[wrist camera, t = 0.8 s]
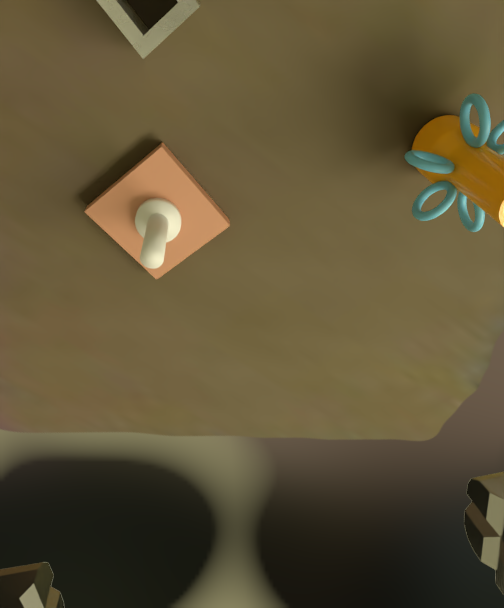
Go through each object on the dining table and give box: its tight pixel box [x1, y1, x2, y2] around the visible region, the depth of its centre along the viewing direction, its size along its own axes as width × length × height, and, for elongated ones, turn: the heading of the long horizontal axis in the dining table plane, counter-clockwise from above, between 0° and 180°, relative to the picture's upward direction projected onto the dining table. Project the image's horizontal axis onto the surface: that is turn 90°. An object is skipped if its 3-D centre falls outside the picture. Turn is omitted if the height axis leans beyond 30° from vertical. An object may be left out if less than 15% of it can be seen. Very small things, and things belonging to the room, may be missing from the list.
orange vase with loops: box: [405, 94, 504, 232], centre depth 40 cm, size 12×10×15 cm
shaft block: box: [85, 142, 230, 279], centre depth 43 cm, size 10×10×10 cm
